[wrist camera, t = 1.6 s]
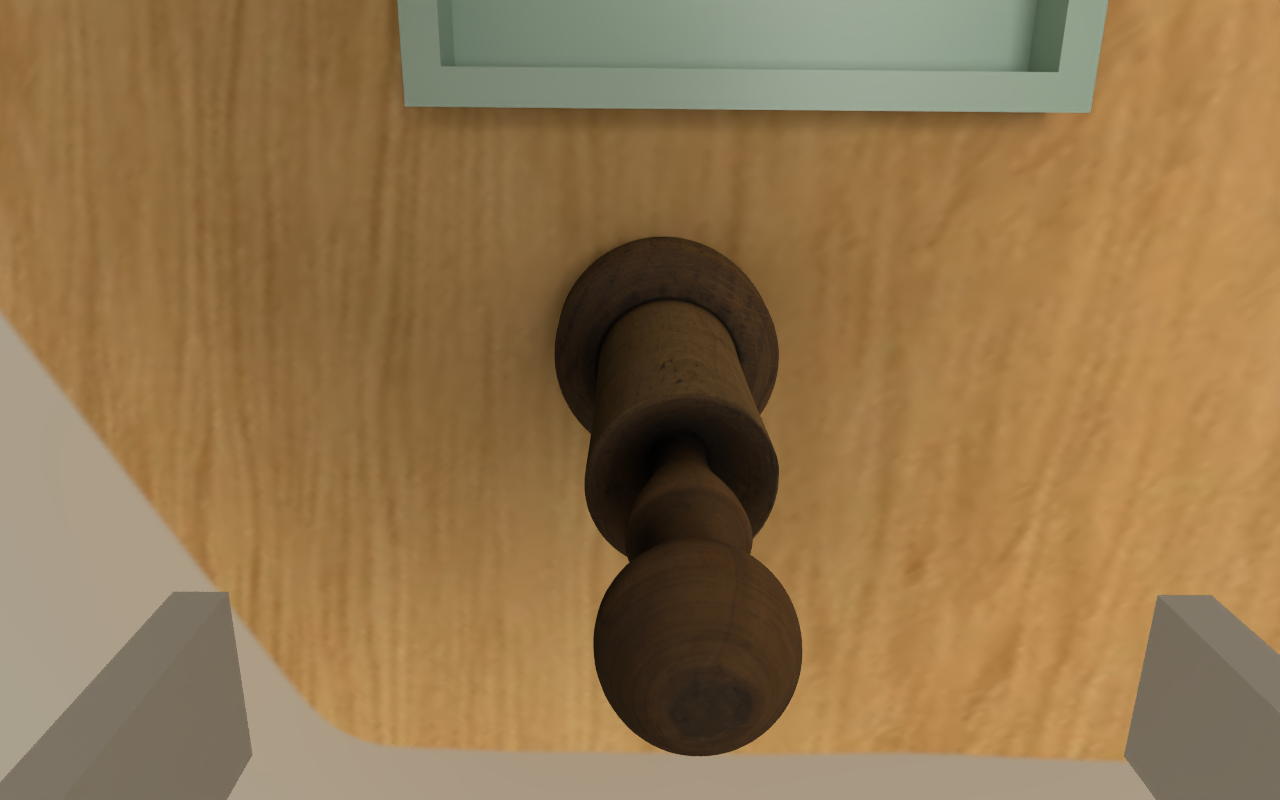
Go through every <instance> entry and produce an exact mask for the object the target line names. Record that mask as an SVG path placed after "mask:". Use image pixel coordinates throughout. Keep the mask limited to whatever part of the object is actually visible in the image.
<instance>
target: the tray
mask: <svg viewBox="0 0 1280 800" xmlns="http://www.w3.org/2000/svg"><path fill="white" fill-rule="evenodd" d="M397 3H398V17H399V32H400V46H401V60H402V74H403V88H404V102H405V107H509V108H618V109H727V110H837V111H946V112H1056V113H1090V112H1091V106H1092V99H1093V93H1094V87H1095V81H1096V75H1097V68H1098V62H1099V56H1100V50H1101V43H1102V37H1103V31H1104V25H1105V18H1106V12H1107V6H1108V0H397Z"/></svg>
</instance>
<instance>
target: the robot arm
mask: <svg viewBox="0 0 1280 800" xmlns="http://www.w3.org/2000/svg"><path fill="white" fill-rule="evenodd" d="M251 756H252V749H251V743H250V735H249V729H248V722H247V715H246V709H245V703H244V696H243V688H242V682H241V675H240V668H239V662H238V655H237V648H236V641H235V635H234V628H233V622H232V615H231V608H230V601H229V594H228V592H173V593H172V594H171V595H170V596H169V597H168V598H167V599H166V600H165V602H164V603H163V604H162V605H161V606H160V607H159V608H158V609H157V610H156V611H155V613H154V614H153V615H152V616H151V617H150V618H149V619H148V620H147V621H146V622H145V624H144V625H143V626H142V627H141V628H140V629H139V630H138V631H137V632H136V634H135V635H134V636H133V637H132V638H131V639H130V640H129V641H128V642H127V643H126V644H125V646H124V647H123V648H122V649H121V650H120V651H119V652H118V653H117V654H116V656H115V657H114V658H113V659H112V660H111V661H110V662H109V663H108V664H107V665H106V667H105V668H104V669H103V670H102V671H101V672H100V673H99V674H98V675H97V676H96V678H95V679H94V680H93V681H92V682H91V683H90V684H89V685H88V686H87V687H86V689H85V690H84V691H83V692H82V693H81V694H80V695H79V696H78V697H77V699H76V700H75V701H74V702H73V703H72V704H71V705H70V706H69V707H68V708H67V709H66V711H65V712H64V713H63V714H62V715H61V716H60V717H59V718H58V719H57V721H56V722H55V723H54V724H53V725H52V726H51V727H50V728H49V730H47V731H46V733H45V734H44V735H43V736H42V737H41V738H40V739H39V740H38V741H37V743H36V744H35V745H34V746H33V747H32V748H31V749H30V750H29V751H28V753H27V754H26V755H25V756H24V757H23V758H22V759H21V760H20V761H19V762H18V764H17V765H16V766H15V767H14V768H13V769H12V770H11V771H10V772H9V773H8V774H7V776H6V777H5V778H4V779H3V780H2V781H1V782H0V800H227V798H228V797H229V795H230V793H231V791H232V789H233V788H234V786H235V784H236V782H237V781H238V779H239V777H240V775H241V774H242V772H243V770H244V768H245V767H246V765H247V763H248V761H249V760H250V758H251ZM1124 757H1125V758H1126V759H1127V761H1128V762H1129V763H1130V765H1131V766H1132V767H1133V769H1134V770H1135V772H1136V773H1137V774H1138V775H1139V777H1140V778H1141V780H1142V781H1143V782H1144V784H1145V785H1146V786H1147V788H1148V789H1149V791H1150V792H1151V793H1152V795H1153V796H1154V797H1155V799H1156V800H1280V655H1279V654H1278V653H1277V652H1275V651H1274V650H1273V649H1272V648H1271V647H1270V646H1269V645H1267V644H1266V643H1265V642H1264V641H1263V640H1262V639H1261V638H1259V637H1258V636H1257V635H1256V634H1255V633H1254V632H1253V631H1251V630H1250V629H1249V628H1248V627H1247V626H1246V625H1245V624H1243V623H1242V622H1241V621H1240V620H1239V619H1238V618H1237V617H1235V616H1234V615H1233V614H1232V613H1231V612H1230V611H1229V610H1227V609H1226V608H1225V607H1224V606H1223V605H1222V604H1221V603H1219V602H1218V601H1217V600H1216V599H1215V598H1214V597H1213V596H1212V595H1158V597H1157V601H1156V606H1155V611H1154V616H1153V620H1152V625H1151V630H1150V635H1149V639H1148V644H1147V649H1146V654H1145V659H1144V663H1143V668H1142V673H1141V678H1140V682H1139V687H1138V692H1137V697H1136V701H1135V706H1134V711H1133V716H1132V720H1131V725H1130V730H1129V735H1128V740H1127V744H1126V749H1125V754H1124Z"/></svg>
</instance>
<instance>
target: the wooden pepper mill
mask: <svg viewBox="0 0 1280 800" xmlns="http://www.w3.org/2000/svg"><path fill="white" fill-rule="evenodd" d="M778 359H779V352H778V341H777V336H776V331H775V328H774V325H773V322H772V319H771V316H770V314H769V312H768V310H767V308H766V306H765V304H764V302H763V300H762V298H761V296H760V294H759V292H758V291H757V289H756V288H755V286H754V285H753V283H752V282H751V281H750V279H749V278H748V277H747V276H746V275H745V274H744V273H743V272H742V271H741V270H740V269H739V268H738V267H737V266H736V265H735V264H734V263H733V262H732V261H730V260H729V259H728V258H726V257H725V256H723V255H722V254H720V253H719V252H717V251H715V250H713V249H711V248H709V247H707V246H705V245H702V244H700V243H697V242H693V241H690V240H685V239H680V238H671V237H655V238H646V239H641V240H637V241H633V242H630V243H627V244H624V245H622V246H620V247H617V248H615V249H613V250H611V251H610V252H608V253H606V254H605V255H603V256H602V257H600V258H599V259H598V260H596V261H595V262H594V263H593V264H592V265H590V266H589V267H588V268H587V269H586V271H585V272H584V273H583V274H582V275H581V276H580V278H579V279H578V280H577V281H576V283H575V284H574V286H573V287H572V289H571V291H570V293H569V294H568V296H567V298H566V301H565V303H564V306H563V309H562V312H561V316H560V320H559V324H558V328H557V333H556V340H555V366H556V373H557V378H558V382H559V385H560V388H561V391H562V394H563V396H564V398H565V401H566V403H567V404H568V406H569V408H570V410H571V411H572V413H573V414H574V416H575V417H576V418H577V420H578V421H579V422H580V423H581V424H582V425H583V426H584V427H585V428H586V430H587V431H589V432H590V433H591V439H590V445H589V452H588V458H587V465H586V473H585V496H586V502H587V506H588V509H589V512H590V515H591V517H592V519H593V521H594V523H595V525H596V527H597V528H598V530H599V531H600V533H601V534H602V536H603V537H604V538H605V539H606V540H607V541H608V542H609V543H610V544H611V545H612V546H613V547H614V548H615V549H616V550H618V551H619V552H621V553H622V554H624V555H625V556H627V557H628V560H629V562H630V563H629V564H627V565H626V566H625V567H624V568H623V570H622V571H621V572H620V573H619V574H618V575H617V576H616V578H615V579H614V580H613V582H612V583H611V585H610V586H609V588H608V589H607V591H606V593H605V595H604V597H603V599H602V602H601V604H600V607H599V611H598V614H597V618H596V623H595V629H594V659H595V666H596V671H597V674H598V678H599V681H600V684H601V686H602V689H603V691H604V694H605V696H606V698H607V700H608V701H609V703H610V705H611V706H612V708H613V709H614V711H615V712H616V714H617V715H618V716H619V718H620V719H621V720H622V721H623V722H624V723H625V724H626V725H627V727H628V728H630V729H631V730H632V731H633V732H634V733H635V734H637V735H638V736H639V737H641V738H642V739H644V740H645V741H647V742H648V743H650V744H652V745H654V746H656V747H658V748H660V749H663V750H665V751H668V752H671V753H676V754H680V755H686V756H711V755H718V754H723V753H726V752H730V751H733V750H736V749H738V748H740V747H743V746H745V745H747V744H748V743H750V742H752V741H754V740H755V739H757V738H758V737H759V736H761V735H762V734H763V733H765V732H766V731H767V730H768V729H769V728H770V727H771V726H772V725H773V724H774V723H775V722H776V721H777V720H778V718H779V717H780V716H781V715H782V713H783V712H784V710H785V709H786V707H787V706H788V704H789V702H790V700H791V698H792V696H793V694H794V692H795V689H796V686H797V683H798V679H799V676H800V671H801V664H802V639H801V631H800V626H799V622H798V618H797V615H796V612H795V609H794V606H793V604H792V602H791V600H790V598H789V596H788V594H787V592H786V591H785V589H784V587H783V586H782V585H781V583H780V582H779V580H778V579H777V578H776V577H775V576H774V574H773V573H772V572H771V571H770V570H769V569H768V568H766V567H765V566H764V565H763V564H762V563H761V562H759V561H758V560H757V559H755V558H754V557H753V556H751V555H750V553H751V549H752V542H753V538H754V537H755V535H756V534H757V533H758V532H759V531H760V530H761V528H762V527H763V525H764V524H765V522H766V520H767V518H768V516H769V515H770V512H771V510H772V508H773V505H774V502H775V499H776V495H777V490H778V478H779V466H778V460H777V456H776V453H775V451H774V448H773V445H772V443H771V440H770V438H769V436H768V433H767V431H766V428H765V426H764V424H763V421H762V419H761V417H760V414H761V413H762V411H763V409H764V408H765V406H766V404H767V402H768V400H769V398H770V396H771V393H772V391H773V388H774V385H775V381H776V377H777V371H778Z"/></svg>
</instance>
